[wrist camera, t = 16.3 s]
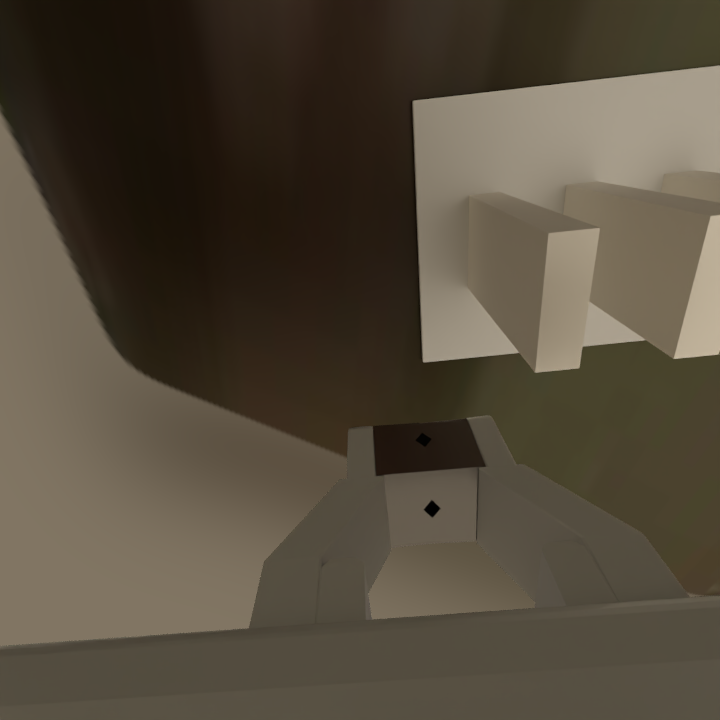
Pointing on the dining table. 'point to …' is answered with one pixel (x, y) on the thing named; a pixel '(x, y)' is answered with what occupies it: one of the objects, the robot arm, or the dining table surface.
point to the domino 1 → (532, 276)
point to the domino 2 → (655, 263)
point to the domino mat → (543, 176)
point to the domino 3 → (693, 185)
